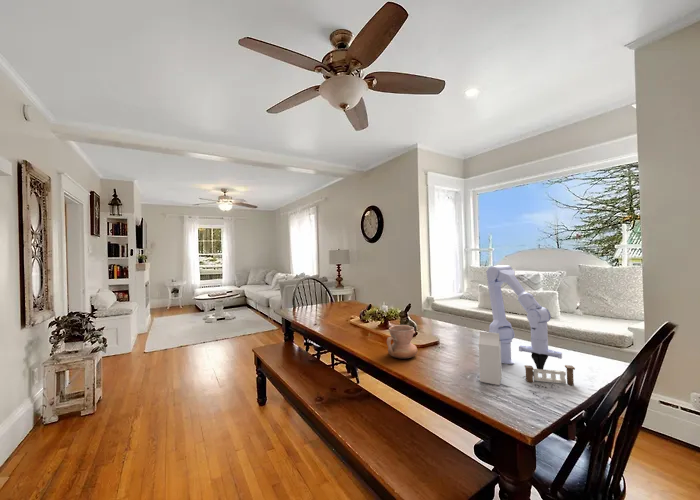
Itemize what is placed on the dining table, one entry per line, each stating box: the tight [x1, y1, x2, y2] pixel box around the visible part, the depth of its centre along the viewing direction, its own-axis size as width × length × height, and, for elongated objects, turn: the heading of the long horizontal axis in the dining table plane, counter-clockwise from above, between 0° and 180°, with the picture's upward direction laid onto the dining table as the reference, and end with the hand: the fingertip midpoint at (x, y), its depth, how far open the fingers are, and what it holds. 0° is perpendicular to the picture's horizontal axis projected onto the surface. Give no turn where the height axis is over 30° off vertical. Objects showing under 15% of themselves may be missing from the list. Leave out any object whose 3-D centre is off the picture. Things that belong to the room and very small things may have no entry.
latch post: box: [524, 364, 535, 383], centre depth 117 cm, size 2×2×6 cm
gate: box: [533, 368, 567, 384], centre depth 115 cm, size 10×1×4 cm, turn 72°
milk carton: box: [478, 331, 503, 386], centre depth 119 cm, size 7×7×19 cm
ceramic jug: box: [386, 324, 418, 360], centre depth 149 cm, size 18×14×14 cm
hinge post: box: [564, 364, 576, 386], centre depth 113 cm, size 2×2×7 cm
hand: (540, 372), depth 120 cm, fingers closed
